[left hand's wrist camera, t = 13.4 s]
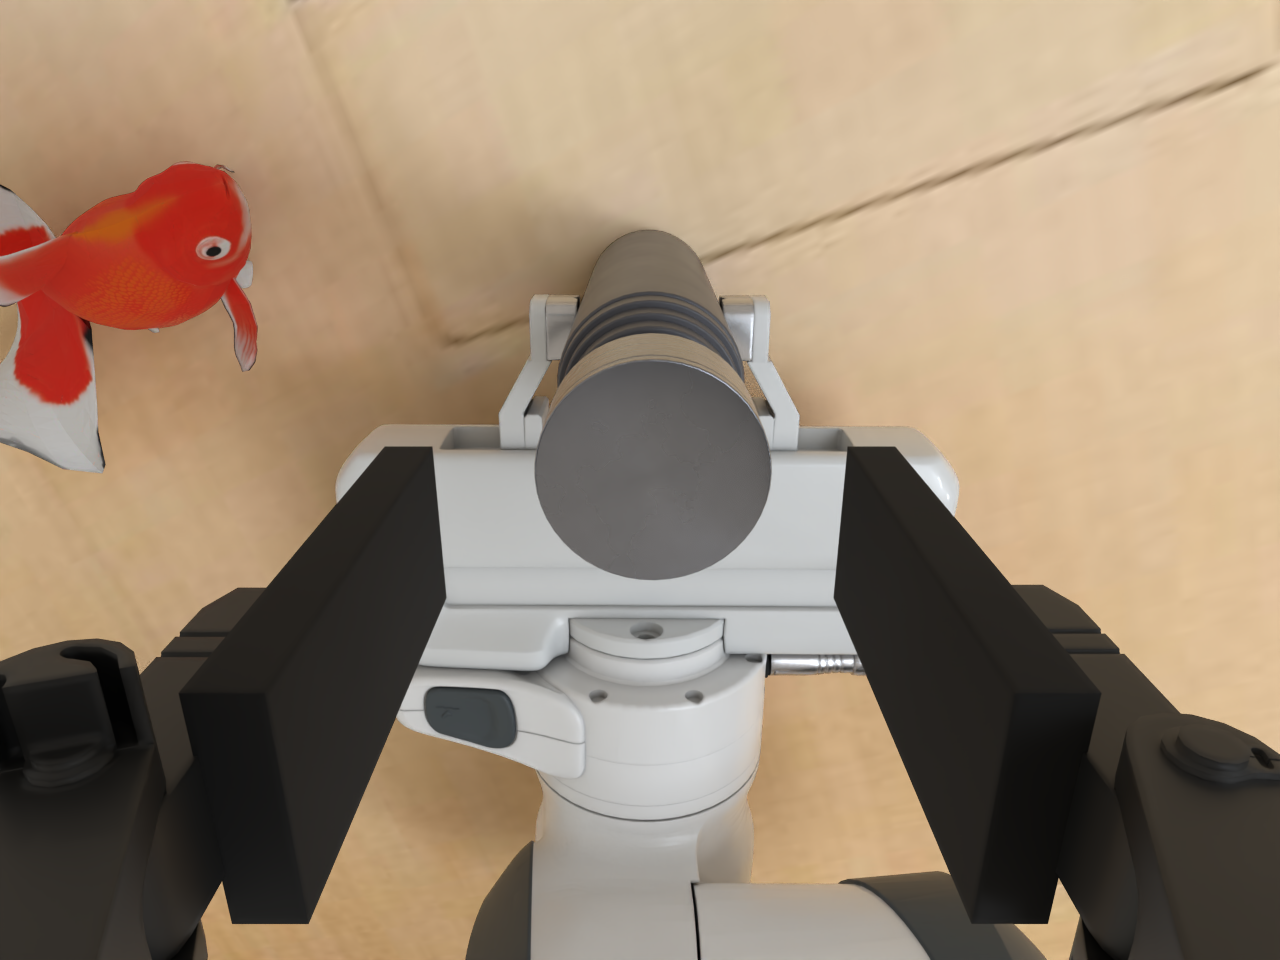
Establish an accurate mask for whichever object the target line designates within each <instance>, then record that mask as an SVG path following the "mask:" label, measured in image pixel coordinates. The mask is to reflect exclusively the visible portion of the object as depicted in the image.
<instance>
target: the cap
mask: <svg viewBox="0 0 1280 960" xmlns="http://www.w3.org/2000/svg"><path fill="white" fill-rule="evenodd" d="M771 476H772V461H771V453H770V448H769V443H768V440H767V437H766V434H765V431H764V428H763V426H762V423H761V421H760V418H759V416H758V413H757V411H756V408H755V406H754V403H753V401H752V398H751V396H750V394H749V392H748V390H747V388H746V386H745V384H744V383H743V381H742V380H741V378H740V377H739V375H738V374H737V373H736V371H735V370H734V369H733V368H732V367H731V366H730V365H729V364H728V363H727V362H726V361H725V360H724V359H722V358H721V357H720V356H719V355H718V354H716V353H715V352H713V351H712V350H710V349H708V348H707V347H705V346H703V345H701V344H699V343H697V342H694V341H692V340H689V339H686V338H683V337H679V336H674V335H668V334H656V333H647V334H636V335H631V336H626V337H622V338H619V339H616V340H613V341H611V342H608V343H606V344H604V345H602V346H600V347H598V348H596V349H595V350H593V351H592V352H590V353H589V354H588V355H586V356H585V357H583V358H582V359H581V360H580V361H579V362H578V363H577V364H576V365H575V366H574V367H573V368H572V369H571V370H570V371H569V373H568V374H567V375H566V376H565V377H564V379H563V381H562V382H561V384H560V386H559V387H558V389H557V391H556V393H555V395H554V398H553V400H552V402H551V405H550V408H549V411H548V414H547V417H546V420H545V423H544V426H543V428H542V431H541V434H540V438H539V441H538V445H537V448H536V455H535V462H534V478H535V485H536V492H537V495H538V499H539V502H540V505H541V508H542V510H543V512H544V514H545V517H546V519H547V521H548V522H549V524H550V525H551V527H552V529H553V530H554V532H555V533H556V534H557V535H558V536H559V538H560V539H561V540H562V541H563V543H565V544H566V545H567V546H568V547H569V548H570V549H571V550H572V551H573V552H574V553H576V554H577V555H578V556H580V557H581V558H582V559H584V560H585V561H587V562H588V563H590V564H592V565H594V566H596V567H597V568H600V569H602V570H604V571H607V572H609V573H612V574H615V575H619V576H623V577H626V578H633V579H639V580H665V579H673V578H678V577H683V576H687V575H690V574H693V573H696V572H699V571H701V570H703V569H706V568H708V567H710V566H712V565H714V564H715V563H717V562H718V561H720V560H722V559H723V558H725V557H726V556H727V555H729V554H730V553H731V552H732V551H734V550H735V549H736V548H737V547H738V546H739V545H740V544H741V543H742V542H743V541H744V540H745V539H746V537H747V536H748V535H749V534H750V532H751V531H752V530H753V528H754V527H755V525H756V523H757V522H758V520H759V518H760V516H761V514H762V512H763V510H764V507H765V505H766V502H767V499H768V495H769V491H770V486H771Z"/></svg>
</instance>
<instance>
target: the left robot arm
mask: <svg viewBox="0 0 1280 960" xmlns="http://www.w3.org/2000/svg"><path fill="white" fill-rule="evenodd" d="M446 598H447V597H446V586H445V575H444V564H443V554H442V543H441V532H440V522H439V511H438V500H437V489H436V479H435V468H434V457H433V446H385V447H384V448H383V449H382V450H381V451H380V453H379V454H378V455H377V456H376V457H375V459H374V460H373V461H372V462H371V463H370V465H369V466H368V467H367V468H366V469H365V471H364V472H363V473H362V474H361V475H360V477H359V478H358V479H357V480H356V481H355V483H354V484H353V485H352V486H351V487H350V489H349V490H348V491H347V492H346V493H345V495H344V496H343V497H342V498H341V499H340V500H339V502H338V503H337V504H336V505H335V506H334V508H333V509H332V510H331V511H330V512H329V514H328V515H327V516H326V517H325V518H324V520H323V521H322V522H321V523H320V524H319V526H318V527H317V528H316V529H315V530H314V532H313V533H312V534H311V535H310V536H309V538H308V539H307V540H306V541H305V542H304V544H303V545H302V546H301V547H300V548H299V550H298V551H297V552H296V553H295V554H294V555H293V557H292V558H291V559H290V560H289V561H288V563H287V564H286V565H285V566H284V567H283V569H282V570H281V571H280V572H279V573H278V575H277V576H276V577H275V578H274V579H273V581H272V582H271V583H270V584H269V585H268V587H267V588H237V589H235V590H233V591H231V592H230V593H228V594H226V595H224V596H223V597H221V598H219V599H217V600H216V601H214V602H212V603H211V604H209V605H207V606H205V607H204V608H202V609H201V610H200V611H199V612H198V613H197V615H196V616H195V617H194V618H193V619H192V620H191V621H190V622H189V623H188V624H187V625H186V626H185V627H184V628H183V629H182V631H181V632H180V637H175V638H174V639H173V640H172V641H171V642H170V643H169V644H168V645H167V647H166V648H165V649H164V650H163V651H162V652H161V657H156V658H155V659H154V660H153V661H152V663H151V664H150V665H149V666H148V667H147V668H146V669H145V670H144V671H143V672H142V673H141V674H140V675H139V671H138V667H137V663H136V659H135V655H134V652H133V651H132V650H131V649H129V648H128V647H126V646H125V645H124V644H122V643H121V642H115V641H109V640H103V639H84V640H70V641H64V642H59V643H55V644H51V645H47V646H42V647H38V648H34V649H31V650H28V651H26V652H23V653H21V654H18V655H16V656H13V657H10V658H8V659H5V660H3V661H0V960H207V958H208V953H207V946H206V939H205V934H204V930H203V926H202V922H201V917H202V915H203V914H204V912H205V910H206V908H207V906H208V905H209V903H210V901H211V899H212V898H213V896H214V894H215V892H216V891H217V889H218V887H219V885H220V883H221V882H223V887H224V891H225V895H226V899H227V904H228V908H229V912H230V917H231V921H232V924H309V922H310V919H311V917H312V914H313V912H314V910H315V907H316V905H317V903H318V900H319V898H320V896H321V893H322V891H323V888H324V886H325V884H326V881H327V879H328V877H329V874H330V872H331V870H332V867H333V865H334V863H335V860H336V858H337V855H338V853H339V851H340V848H341V846H342V844H343V841H344V839H345V837H346V834H347V832H348V829H349V827H350V825H351V822H352V820H353V818H354V815H355V813H356V811H357V808H358V806H359V803H360V801H361V799H362V796H363V794H364V792H365V789H366V787H367V785H368V782H369V780H370V778H371V775H372V773H373V770H374V768H375V766H376V763H377V761H378V759H379V756H380V754H381V752H382V749H383V747H384V744H385V742H386V740H387V737H388V735H389V733H390V730H391V728H392V726H393V723H394V721H395V718H396V716H397V714H398V711H399V709H400V707H401V704H402V702H403V700H404V697H405V695H406V693H407V690H408V688H409V685H410V683H411V681H412V678H413V676H414V674H415V671H416V669H417V667H418V664H419V662H420V659H421V657H422V655H423V652H424V650H425V648H426V645H427V643H428V641H429V638H430V636H431V634H432V631H433V629H434V626H435V624H436V622H437V619H438V617H439V615H440V612H441V610H442V608H443V605H444V603H445V600H446ZM833 598H834V600H835V603H836V605H837V608H838V610H839V612H840V615H841V617H842V619H843V622H844V624H845V626H846V629H847V631H848V634H849V636H850V638H851V641H852V643H853V645H854V648H855V650H856V652H857V655H858V657H859V659H860V662H861V664H862V667H863V669H864V671H865V674H866V676H867V678H868V681H869V683H870V685H871V688H872V690H873V693H874V695H875V697H876V700H877V702H878V704H879V707H880V709H881V711H882V714H883V716H884V719H885V721H886V723H887V726H888V728H889V730H890V733H891V735H892V737H893V740H894V742H895V744H896V747H897V749H898V752H899V754H900V756H901V759H902V761H903V763H904V766H905V768H906V770H907V773H908V775H909V778H910V780H911V782H912V785H913V787H914V789H915V792H916V794H917V796H918V799H919V801H920V804H921V806H922V808H923V811H924V813H925V815H926V818H927V820H928V822H929V825H930V827H931V829H932V832H933V834H934V837H935V839H936V841H937V844H938V846H939V848H940V851H941V853H942V855H943V858H944V860H945V863H946V865H947V867H948V870H949V872H950V874H951V877H952V879H953V881H954V884H955V886H956V888H957V891H958V893H959V896H960V898H961V900H962V903H963V905H964V907H965V910H966V912H967V914H968V917H969V919H970V922H971V924H1048V921H1049V917H1050V912H1051V908H1052V904H1053V899H1054V895H1055V891H1056V887H1057V882H1058V878H1059V879H1060V881H1061V882H1062V884H1063V886H1064V888H1065V890H1066V891H1067V893H1068V895H1069V897H1070V898H1071V900H1072V902H1073V904H1074V905H1075V907H1076V909H1077V911H1078V912H1079V914H1080V918H1079V922H1078V926H1077V930H1076V934H1075V938H1074V942H1073V946H1072V950H1071V954H1070V958H1069V960H1280V754H1278V753H1277V752H1275V751H1274V750H1272V749H1271V748H1270V747H1268V746H1267V745H1265V744H1264V743H1262V742H1261V741H1260V740H1258V739H1257V738H1255V737H1253V736H1251V735H1249V734H1246V733H1244V732H1242V731H1240V730H1238V729H1235V728H1233V727H1231V726H1229V725H1227V724H1224V723H1221V722H1217V721H1214V720H1210V719H1206V718H1203V717H1199V716H1195V715H1190V714H1180V712H1179V711H1178V710H1177V709H1176V708H1175V707H1174V706H1173V705H1172V704H1171V703H1170V702H1169V701H1168V700H1167V699H1166V698H1165V697H1164V696H1163V694H1162V693H1161V692H1160V691H1159V690H1158V689H1157V688H1156V687H1155V686H1154V685H1153V684H1152V683H1151V682H1150V681H1149V680H1148V679H1147V678H1146V676H1145V675H1144V674H1143V673H1142V672H1141V671H1140V670H1139V669H1138V668H1137V667H1136V666H1135V665H1134V664H1133V663H1132V662H1131V661H1130V660H1129V658H1128V657H1127V656H1126V655H1125V654H1120V652H1119V648H1118V647H1117V646H1116V645H1115V644H1114V643H1113V642H1112V640H1111V639H1110V638H1109V637H1108V636H1107V635H1106V634H1101V629H1100V628H1099V627H1098V626H1097V625H1096V624H1095V622H1094V621H1093V620H1092V619H1091V618H1090V617H1089V616H1088V615H1087V614H1086V613H1085V612H1084V611H1083V610H1082V609H1081V608H1080V607H1079V606H1078V605H1077V604H1075V603H1073V602H1072V601H1070V600H1068V599H1066V598H1065V597H1063V596H1061V595H1060V594H1058V593H1056V592H1054V591H1053V590H1051V589H1049V588H1047V587H1046V586H1044V585H1011V584H1010V583H1009V582H1008V581H1007V579H1006V578H1005V577H1004V576H1003V575H1002V573H1001V572H1000V571H999V570H998V569H997V567H996V566H995V565H994V564H993V563H992V561H991V560H990V559H989V558H988V557H987V555H986V554H985V553H984V552H983V551H982V550H981V548H980V547H979V546H978V545H977V544H976V542H975V541H974V540H973V539H972V538H971V536H970V535H969V534H968V533H967V532H966V530H965V529H964V528H963V527H962V526H961V524H960V523H959V522H958V521H957V520H956V518H955V517H954V516H953V515H952V514H951V512H950V511H949V510H948V509H947V508H946V506H945V505H944V504H943V503H942V502H941V500H940V499H939V498H938V497H937V496H936V495H935V493H934V492H933V491H932V490H931V489H930V487H929V486H928V485H927V484H926V483H925V481H924V480H923V479H922V478H921V477H920V475H919V474H918V473H917V472H916V471H915V469H914V468H913V467H912V466H911V465H910V463H909V462H908V461H907V460H906V459H905V457H904V456H903V455H902V454H901V453H900V451H899V450H898V449H897V448H896V447H895V446H847V457H846V468H845V479H844V489H843V500H842V511H841V522H840V532H839V543H838V554H837V564H836V575H835V586H834V597H833Z"/></svg>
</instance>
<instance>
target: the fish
mask: <svg viewBox="0 0 1280 960" xmlns="http://www.w3.org/2000/svg"><path fill="white" fill-rule="evenodd" d="M221 167H222V168H224V169H226V170H228V171H230V172H234V171H232V170H230V169H229V168H227V167H226V166H224V165H216V166H215V167H214V168H213V167H209V166H204V165H200V164H197V163H193V162H188V161H183V162H178V163H175V164H173V165H172V166H171V167H169V168H168V169H167V170H165V171H163V172H162V173H160V174H158V175H155V176H152V177H150V178H148V179H146V180H145V181H144V182H142V183H141V184H140V186H139V187H138V189H137V190H136V191H135V192H132V193H129V194H125V195H120V196H116V197H112V198H109V199H106V200H104V201H102V202H100V203H99V204H97V205H96V206H94V207H92V208H91V209H89V210H88V211H86V212H85V213H84V214H82V215H81V216H79V217H78V218H77V219H76V220H75V221H73V222H72V223H71V224H70V225H69V226H68V227H67V229H66V230H65V231H64V232H63V234H62V235H61V236H59V237H57V238H56V237H55V236H54V235H53V233H52V232H51V230H50V229H49V227H48V226H47V224H46V223H45V222H44V221H43V220H42V219H41V218H40V217H39V216H38V215H37V214H36V213H35V212H34V211H33V210H32V209H31V208H30V207H29V206H28V205H27V204H26V203H25V202H24V201H23V200H21V199H20V198H19V197H18V196H17V195H16V194H15V193H14V192H12V191H11V190H10V189H8V188H6V187H4V186H2V185H0V306H2V307H6V306H10V305H12V304H14V303H16V302H17V309H18V328H17V332H16V336H15V339H14V342H13V344H12V347H11V349H10V351H9V353H8V354H7V356H6V358H5V359H4V360H3V361H2V363H1V364H0V442H1V443H3V444H6V445H9V446H12V447H15V448H18V449H21V450H24V451H27V452H29V453H31V454H33V455H35V456H37V457H39V458H42V459H44V460H46V461H48V462H50V463H52V464H54V465H56V466H58V467H60V468H62V469H68V470H77V471H86V472H95V473H103V470H104V467H105V460H104V456H103V451H102V447H101V442H100V438H99V433H98V416H97V397H96V382H95V369H94V356H93V343H92V329H91V326H90V322H94V323H97V324H101V325H105V326H110V327H114V328H119V329H125V330H138V329H149V330H150V331H152V332H154V333H157V332H159V329H158V328H163V327H170V326H174V325H178V324H180V323H182V322H185V321H187V320H189V319H191V318H193V317H195V316H197V315H199V314H201V313H203V312H205V311H206V310H208V309H209V308H211V307H212V306H213V305H214V304H216V303H217V302H218V301H219V299H220V298H221V300H222V302H223V304H224V307H225V309H226V310H227V312H228V314H229V316H230V318H231V320H232V322H233V326H234V349H235V354H236V357H237V359H238V361H239V364H240V366H241V369H242V371H248V370H250V369H251V367H252V366H253V365H254V363H255V360H256V354H257V344H256V340H257V329H258V326H257V323H256V320H255V317H254V313H253V310H252V307H251V303H250V302H249V300H248V298H247V297H246V295H245V293H244V292H243V290H242V289H241V288H247V287H250V286H251V284H252V279H253V264H252V262H251V261H247V258H248V255H249V252H250V249H251V220H250V212H249V207H248V203H247V200H246V198H245V196H244V195H243V193H242V191H241V189H240V187H239V185H238V184H237V183H236V182H235V181H234V180H233V179H232V178H231V177H230V176H229V175H228V174H227V173H225V172H224V171H221V170H219V169H220V168H221ZM89 321H90V322H89Z"/></svg>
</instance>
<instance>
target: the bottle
mask: <svg viewBox="0 0 1280 960" xmlns="http://www.w3.org/2000/svg"><path fill="white" fill-rule="evenodd" d="M647 333H656V334H668V335H674V336H679V337H683V338H686V339H689V340H692V341H694V342H697V343H699V344H701V345H703V346H705V347H707V348H708V349H710V350H712V351H713V352H715V353H716V354H718V355H719V356H720V357H721V358H722V359H724V360H725V361H726V362H727V363H728V364H729V365H730V366H731V367H732V368H733V369H734V370H735V371H736V373H737V374H738V375H739V377H740V378H741V380H742V381H743V383H744V384H745V380H744V368H743V363H742V358H741V355H740V352H739V349H738V347H737V344H736V342H735V340H734V338H733V335H732V333H731V331H730V328H729V326H728V324H727V321H726V319H725V317H724V314H723V312H722V310H721V307H720V305H719V303H718V300H717V298H716V296H715V293H714V291H713V289H712V287H711V284H710V282H709V280H708V277H707V275H706V273H705V270H704V268H703V266H702V264H701V262H700V260H699V258H698V257H697V255H696V254H695V252H694V251H693V250H692V249H691V248H690V247H689V246H688V245H687V244H686V243H685V242H683V241H682V240H680V239H679V238H677V237H675V236H673V235H671V234H668V233H665V232H662V231H656V230H642V231H636V232H632V233H629V234H627V235H624V236H622V237H621V238H619V239H617V240H616V241H614V242H613V243H612V244H610V245H609V246H608V247H607V248H606V249H605V251H604V252H603V253H602V254H601V256H600V257H599V259H598V261H597V263H596V265H595V267H594V269H593V272H592V275H591V277H590V280H589V283H588V285H587V288H586V291H585V293H584V296H583V299H582V301H581V304H580V307H579V309H578V312H577V315H576V317H575V320H574V323H573V325H572V328H571V331H570V333H569V336H568V339H567V341H566V344H565V347H564V349H563V352H562V355H561V359H560V363H559V368H558V375H557V389H558V387H559V386H560V384H561V382H562V381H563V379H564V377H565V376H566V375H567V374H568V373H569V371H570V370H571V369H572V368H573V367H574V366H575V365H576V364H577V363H578V362H579V361H580V360H581V359H582V358H583V357H585V356H586V355H588V354H589V353H590V352H592V351H593V350H595V349H596V348H598V347H600V346H602V345H604V344H606V343H608V342H611V341H613V340H616V339H619V338H622V337H626V336H631V335H636V334H647Z"/></svg>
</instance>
